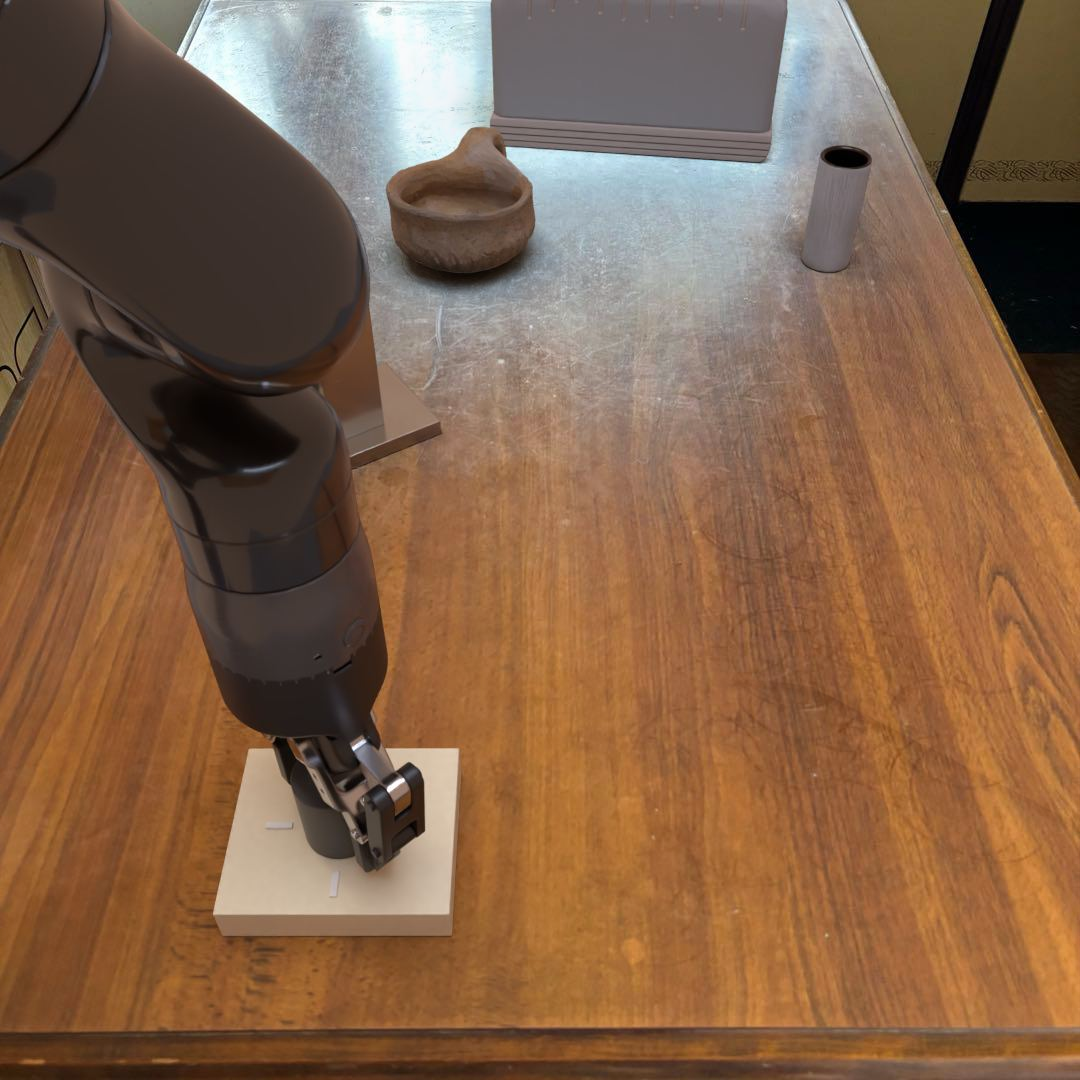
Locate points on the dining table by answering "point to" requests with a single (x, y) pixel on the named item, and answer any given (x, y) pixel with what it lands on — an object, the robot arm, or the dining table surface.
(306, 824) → the dial
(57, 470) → the dining table surface
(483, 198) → the bowl
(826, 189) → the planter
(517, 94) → the toaster
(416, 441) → the bracket
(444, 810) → the dial panel
